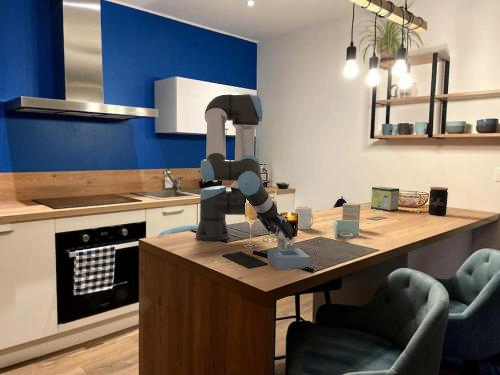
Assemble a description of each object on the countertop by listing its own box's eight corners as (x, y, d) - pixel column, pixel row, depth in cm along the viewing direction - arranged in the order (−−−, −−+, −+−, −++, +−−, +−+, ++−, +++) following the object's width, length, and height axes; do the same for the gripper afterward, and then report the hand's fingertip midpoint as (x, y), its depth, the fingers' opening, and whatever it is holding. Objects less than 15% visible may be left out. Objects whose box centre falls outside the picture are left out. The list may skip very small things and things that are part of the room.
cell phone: (240, 253, 152) (240, 251, 152) (268, 265, 138) (268, 263, 138) (221, 256, 147) (221, 254, 147) (248, 270, 133) (248, 267, 133)
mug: (306, 231, 193) (306, 210, 192) (291, 227, 203) (291, 207, 202) (318, 230, 197) (319, 209, 196) (303, 225, 207) (304, 206, 206)
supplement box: (359, 228, 203) (360, 204, 202) (356, 230, 199) (357, 205, 198) (344, 226, 208) (345, 202, 207) (341, 227, 204) (342, 203, 203)
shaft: (278, 254, 150) (279, 222, 149) (275, 251, 154) (276, 220, 153) (288, 253, 151) (289, 221, 150) (285, 251, 155) (286, 219, 154)
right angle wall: (335, 240, 179) (335, 224, 178) (333, 234, 191) (334, 219, 190) (361, 241, 177) (362, 225, 176) (358, 235, 189) (359, 220, 188)
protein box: (378, 207, 277) (380, 186, 276) (398, 210, 265) (400, 188, 264) (370, 208, 271) (371, 186, 269) (390, 212, 259) (391, 189, 257)
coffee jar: (425, 214, 253) (427, 187, 251) (432, 212, 260) (434, 186, 258) (442, 216, 245) (444, 189, 243) (448, 215, 252) (450, 188, 250)
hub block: (276, 269, 132) (277, 258, 132) (267, 259, 144) (267, 249, 144) (309, 267, 135) (309, 256, 135) (297, 258, 147) (298, 247, 146)
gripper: (241, 210, 144) (267, 245, 159) (278, 217, 133) (302, 253, 148) (251, 195, 148) (275, 230, 162) (287, 200, 137) (309, 238, 151)
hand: (287, 241), depth 155 cm, fingers closed on shaft, 4 cm apart
